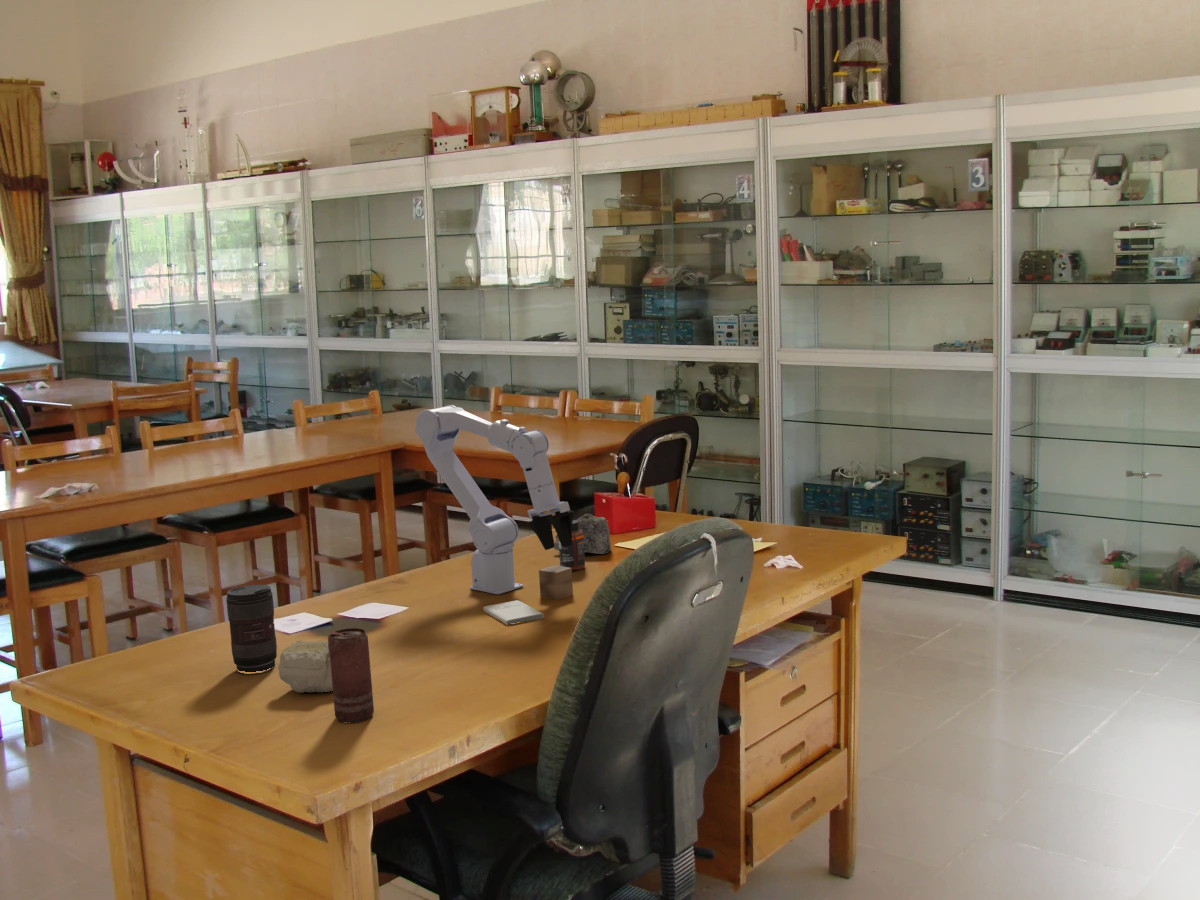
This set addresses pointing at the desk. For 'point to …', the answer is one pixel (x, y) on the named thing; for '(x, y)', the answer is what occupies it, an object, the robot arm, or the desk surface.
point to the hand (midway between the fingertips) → (558, 547)
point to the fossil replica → (306, 666)
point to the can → (351, 675)
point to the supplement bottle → (573, 550)
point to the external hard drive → (513, 612)
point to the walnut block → (555, 582)
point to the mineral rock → (593, 534)
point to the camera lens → (252, 627)
